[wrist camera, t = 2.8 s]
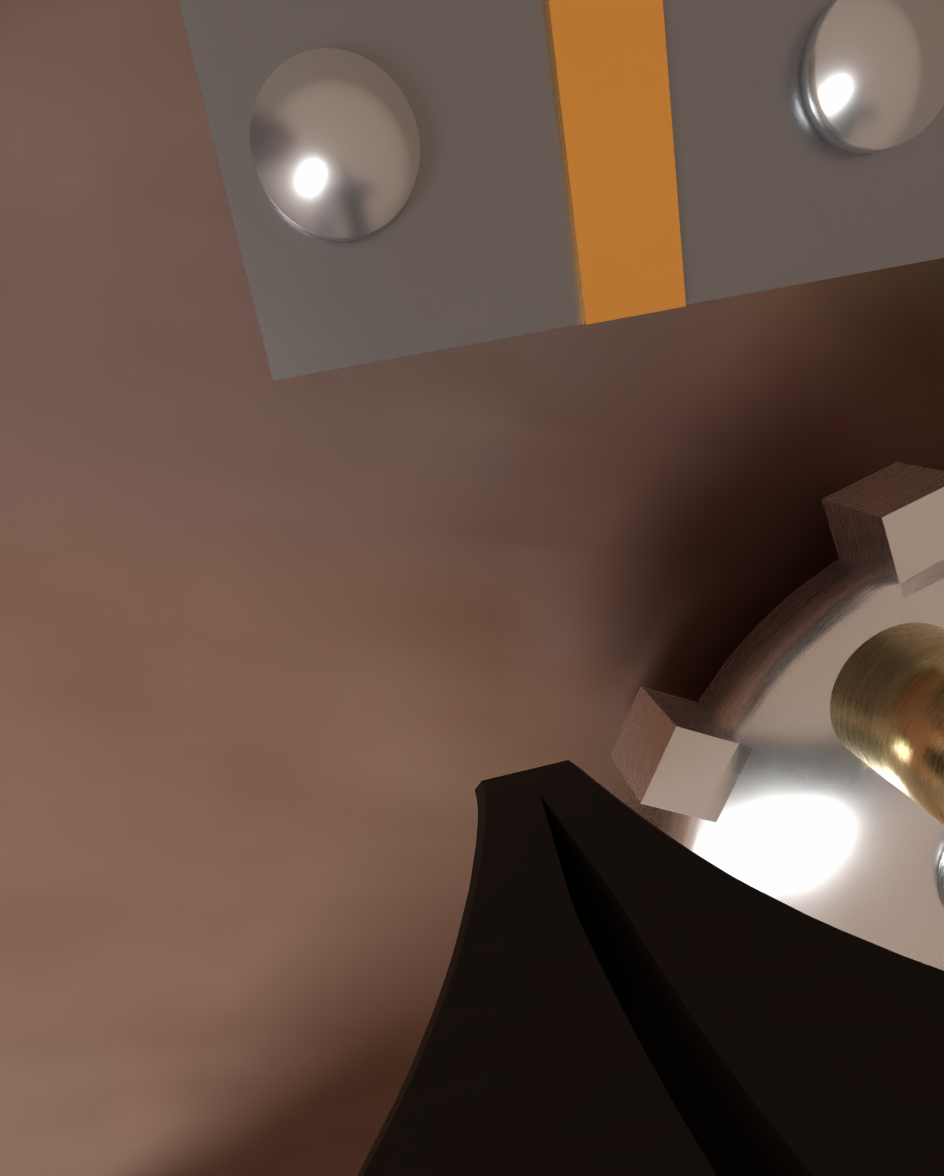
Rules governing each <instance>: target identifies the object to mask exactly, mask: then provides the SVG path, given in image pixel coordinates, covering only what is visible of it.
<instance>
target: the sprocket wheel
mask: <svg viewBox="0 0 944 1176" xmlns="http://www.w3.org/2000/svg"><path fill="white" fill-rule="evenodd" d="M821 500H822V503H823V507H824V510H825V513H826V517H827V520H828V523H829V527H830V530H831V533H832V537H833V540H834V544H835V547H836V550H837V554H838V557H839V559H838V560H836V561H835V562H833V563H832V564H830V565H829V566H827V567H826V568H825V569H823V570H822V571H821V572H819V573H818V574H817V575H815V576H814V577H812V578H811V579H810V580H808V581H807V582H806V583H804V584H803V585H801V586H800V587H799V588H797V589H796V590H795V591H793V592H792V593H791V594H790V595H789V596H788V597H787V598H786V599H785V600H784V601H782V602H781V603H780V604H779V605H778V606H777V607H776V608H775V609H774V610H773V611H772V612H770V613H769V614H768V615H767V616H766V617H765V618H764V619H763V620H762V621H761V622H759V623H758V625H757V626H756V627H755V628H754V629H753V630H752V631H751V633H750V634H749V635H748V636H747V637H746V638H745V639H744V640H743V642H742V643H741V644H740V645H739V646H738V647H737V648H736V650H735V651H734V652H733V653H732V654H731V655H730V656H729V658H728V659H727V660H726V661H725V663H724V664H723V666H722V667H721V669H720V670H719V672H718V673H717V674H716V676H715V677H714V679H713V680H712V682H711V683H710V684H709V686H708V687H707V689H706V690H705V692H704V693H703V694H702V696H701V697H700V699H699V701H698V702H694V701H691V700H688V699H684V698H681V697H677V696H674V695H671V694H667V693H664V692H660V691H657V690H653V689H650V688H647V687H643V686H640V689H639V691H638V693H637V695H636V698H635V700H634V702H633V704H632V707H631V709H630V711H629V713H628V716H627V718H626V720H625V723H624V725H623V727H622V729H621V732H620V734H619V736H618V738H617V741H616V743H615V745H614V747H613V750H612V752H611V754H610V757H611V759H612V760H613V762H614V763H615V765H616V766H617V768H618V769H619V771H620V773H621V774H622V776H623V777H624V779H625V780H626V782H627V783H628V785H629V786H630V788H631V790H632V791H633V793H634V794H635V796H636V797H637V799H638V800H639V802H640V803H641V804H644V805H648V806H652V807H656V810H655V814H654V822H653V825H654V826H656V827H657V828H659V829H660V830H662V831H663V832H664V833H666V834H667V835H669V836H670V837H672V838H673V839H674V840H676V841H677V842H679V843H680V844H682V845H683V846H685V847H686V848H688V849H690V850H691V851H693V852H694V853H696V854H697V855H699V856H700V857H702V858H704V859H705V860H707V861H709V862H710V863H712V864H713V865H715V866H717V867H718V868H720V869H722V870H723V871H725V872H726V873H728V874H730V875H732V876H733V877H735V878H737V879H739V880H741V881H742V882H744V883H746V884H748V885H750V886H751V887H753V888H755V889H757V890H759V891H761V892H763V893H765V894H767V895H769V896H771V897H773V898H775V899H777V900H779V901H781V902H783V903H785V904H787V905H789V906H791V907H793V908H795V909H797V910H799V911H801V912H803V913H805V914H807V915H809V916H811V917H813V918H815V919H818V920H820V921H822V922H824V923H826V924H829V925H831V926H833V927H835V928H837V929H840V930H842V931H844V932H847V933H849V934H852V935H854V936H857V937H859V938H861V939H864V940H866V941H869V942H871V943H874V944H876V945H878V946H881V947H883V948H886V949H888V950H890V951H893V952H895V953H898V954H900V955H903V956H905V957H908V958H911V959H913V960H916V961H919V962H921V963H924V964H927V965H930V966H932V967H935V968H938V969H941V970H943V971H944V471H941V470H936V469H931V468H926V467H921V466H915V465H910V464H905V463H900V462H896V463H894V464H892V465H890V466H888V467H886V468H884V469H882V470H880V471H878V472H876V473H873V474H871V475H869V476H867V477H865V478H863V479H861V480H859V481H857V482H855V483H853V484H851V485H849V486H847V487H845V488H843V489H841V490H839V491H837V492H835V493H833V494H831V495H829V496H827V497H825V498H823V499H821Z"/></svg>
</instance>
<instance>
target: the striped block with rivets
mask: <svg viewBox="0 0 944 1176" xmlns="http://www.w3.org/2000/svg"><path fill="white" fill-rule="evenodd" d="M179 4H180V8H181V12H182V17H183V21H184V25H185V29H186V33H187V37H188V41H189V45H190V49H191V53H192V57H193V61H194V65H195V69H196V73H197V77H198V81H199V85H200V89H201V93H202V97H203V101H204V105H205V109H206V113H207V117H208V121H209V125H210V129H211V133H212V137H213V141H214V145H215V149H216V153H217V157H218V161H219V165H220V170H221V174H222V178H223V182H224V186H225V190H226V194H227V198H228V202H229V206H230V210H231V214H232V218H233V222H234V226H235V230H236V234H237V238H238V242H239V246H240V250H241V254H242V258H243V262H244V266H245V270H246V274H247V278H248V282H249V286H250V290H251V294H252V298H253V302H254V306H255V310H256V314H257V318H258V322H259V327H260V331H261V335H262V339H263V343H264V347H265V351H266V355H267V359H268V363H269V367H270V371H271V375H272V379H273V381H274V380H280V379H285V378H291V377H296V376H302V375H307V374H313V373H318V372H323V371H329V370H334V369H340V368H345V367H351V366H356V365H362V364H367V363H373V362H378V361H383V360H389V359H394V358H400V357H405V356H411V355H416V354H422V353H427V352H433V351H438V350H444V349H449V348H454V347H460V346H465V345H471V344H476V343H482V342H487V341H493V340H498V339H504V338H509V337H514V336H520V335H525V334H531V333H536V332H542V331H547V330H553V329H558V328H564V327H569V326H575V325H587V324H592V323H598V322H603V321H609V320H614V319H620V318H625V317H630V316H636V315H641V314H647V313H652V312H658V311H663V310H669V309H674V308H680V307H685V306H686V305H689V304H695V303H700V302H705V301H711V300H716V299H722V298H727V297H733V296H738V295H744V294H749V293H755V292H760V291H766V290H771V289H776V288H782V287H787V286H793V285H798V284H804V283H809V282H815V281H820V280H826V279H831V278H836V277H842V276H847V275H853V274H858V273H864V272H869V271H875V270H880V269H886V268H891V267H897V266H902V265H907V264H913V263H918V262H924V261H929V260H935V259H940V258H944V0H179Z"/></svg>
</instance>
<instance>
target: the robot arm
mask: <svg viewBox="0 0 944 1176" xmlns="http://www.w3.org/2000/svg"><path fill="white" fill-rule="evenodd" d="M475 793H476V798H477V803H478V828H477V841H476V849H475V856H474V862H473V869H472V875H471V882H470V887H469V892H468V896H467V900H466V905H465V909H464V913H463V917H462V921H461V925H460V930H459V934H458V938H457V941H456V945H455V948H454V952H453V955H452V958H451V962H450V965H449V968H448V971H447V974H446V978H445V981H444V983H443V986H442V989H441V992H440V995H439V998H438V1001H437V1004H436V1006H435V1009H434V1012H433V1014H432V1017H431V1019H430V1022H429V1024H428V1027H427V1029H426V1032H425V1034H424V1037H423V1039H422V1042H421V1044H420V1047H419V1049H418V1052H417V1054H416V1057H415V1059H414V1061H413V1064H412V1066H411V1068H410V1071H409V1073H408V1075H407V1077H406V1080H405V1082H404V1084H403V1086H402V1088H401V1091H400V1093H399V1095H398V1097H397V1099H396V1101H395V1103H394V1105H393V1107H392V1109H391V1111H390V1113H389V1115H388V1117H387V1119H386V1121H385V1123H384V1125H383V1127H382V1129H381V1131H380V1133H379V1135H378V1136H377V1138H376V1140H375V1142H374V1144H373V1146H372V1148H371V1150H370V1152H369V1154H368V1156H367V1158H366V1160H365V1162H364V1164H363V1166H362V1168H361V1170H360V1172H359V1174H358V1176H944V971H943V970H941V969H938V968H935V967H932V966H930V965H927V964H924V963H921V962H919V961H916V960H913V959H911V958H908V957H905V956H903V955H900V954H898V953H895V952H893V951H890V950H888V949H886V948H883V947H881V946H878V945H876V944H874V943H871V942H869V941H866V940H864V939H861V938H859V937H857V936H854V935H852V934H849V933H847V932H844V931H842V930H840V929H837V928H835V927H833V926H831V925H829V924H826V923H824V922H822V921H820V920H818V919H815V918H813V917H811V916H809V915H807V914H805V913H803V912H801V911H799V910H797V909H795V908H793V907H791V906H789V905H787V904H785V903H783V902H781V901H779V900H777V899H775V898H773V897H771V896H769V895H767V894H765V893H763V892H761V891H759V890H757V889H755V888H753V887H751V886H750V885H748V884H746V883H744V882H742V881H741V880H739V879H737V878H735V877H733V876H732V875H730V874H728V873H726V872H725V871H723V870H722V869H720V868H718V867H717V866H715V865H713V864H712V863H710V862H709V861H707V860H705V859H704V858H702V857H700V856H699V855H697V854H696V853H694V852H693V851H691V850H690V849H688V848H686V847H685V846H683V845H682V844H680V843H679V842H677V841H676V840H674V839H673V838H672V837H670V836H669V835H667V834H666V833H664V832H663V831H662V830H660V829H659V828H657V827H656V826H654V825H653V824H652V823H650V822H649V821H647V820H646V819H644V818H643V817H642V816H640V815H639V814H638V813H636V812H635V811H634V810H632V809H631V808H630V807H628V806H627V805H626V804H624V803H623V802H622V801H620V800H619V799H618V798H616V797H615V796H614V795H613V794H611V793H610V792H609V791H607V790H606V789H605V788H604V787H602V786H601V785H600V784H599V783H597V782H596V781H595V780H594V779H592V778H591V777H590V776H589V775H588V774H586V773H585V772H584V771H583V770H581V769H580V768H579V767H578V766H576V765H575V764H573V763H572V762H570V761H569V760H567V761H563V762H559V763H555V764H550V765H546V766H542V767H538V768H534V769H529V770H525V771H521V772H517V773H513V774H508V775H504V776H500V777H496V778H492V779H487V780H483V781H481V783H480V784H479V785H478V787H477V788H476V789H475Z"/></svg>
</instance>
